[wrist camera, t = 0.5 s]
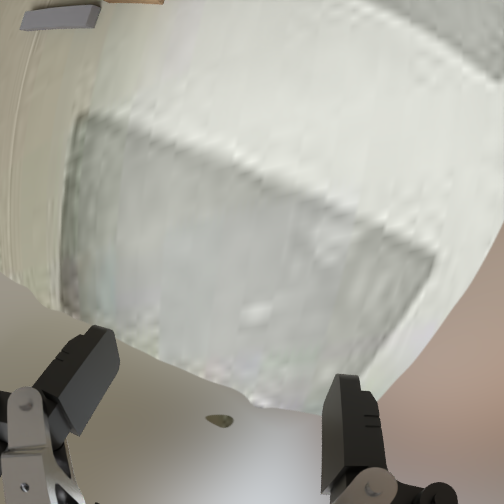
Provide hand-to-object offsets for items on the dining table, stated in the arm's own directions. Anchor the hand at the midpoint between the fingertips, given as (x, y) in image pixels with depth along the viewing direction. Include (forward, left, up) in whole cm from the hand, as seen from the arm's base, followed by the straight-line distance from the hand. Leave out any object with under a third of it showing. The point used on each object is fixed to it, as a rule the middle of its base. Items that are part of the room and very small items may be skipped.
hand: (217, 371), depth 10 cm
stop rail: (-16, -35, -27) cm, 47 cm away
